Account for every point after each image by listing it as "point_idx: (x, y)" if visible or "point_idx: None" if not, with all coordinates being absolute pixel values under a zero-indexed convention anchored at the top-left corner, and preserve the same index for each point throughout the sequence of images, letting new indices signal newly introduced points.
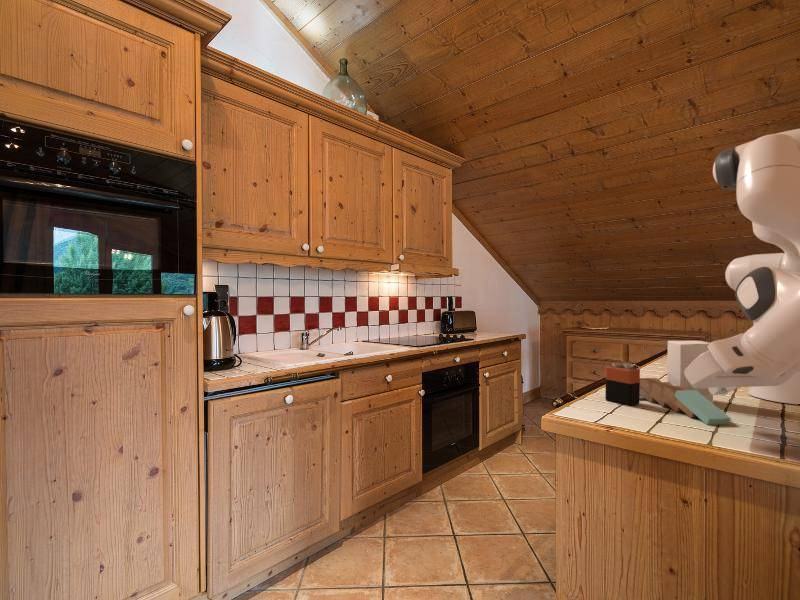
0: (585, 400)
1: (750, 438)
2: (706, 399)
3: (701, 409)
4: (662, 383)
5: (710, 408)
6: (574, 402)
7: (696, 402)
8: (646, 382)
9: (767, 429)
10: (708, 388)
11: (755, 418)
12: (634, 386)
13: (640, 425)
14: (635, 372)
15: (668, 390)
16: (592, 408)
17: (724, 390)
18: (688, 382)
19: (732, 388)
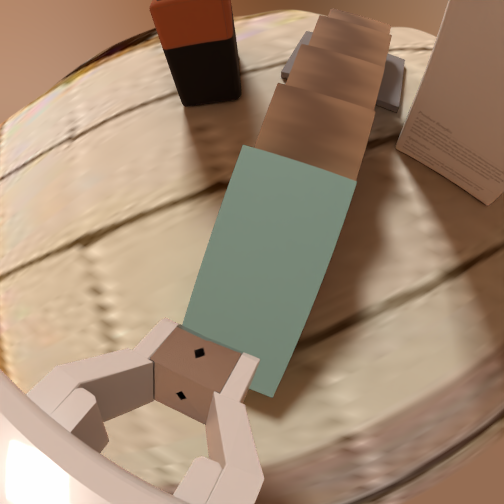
0: (146, 53)
1: (165, 482)
2: (322, 261)
3: (206, 302)
4: (343, 63)
5: (257, 317)
6: (108, 62)
7: (238, 256)
8: (321, 36)
9: (343, 473)
10: (162, 319)
11: (456, 377)
12: (189, 54)
13: (26, 239)
14: (183, 8)
15: (268, 114)
16: (85, 101)
17: (190, 413)
18: (447, 109)
19: (211, 459)
